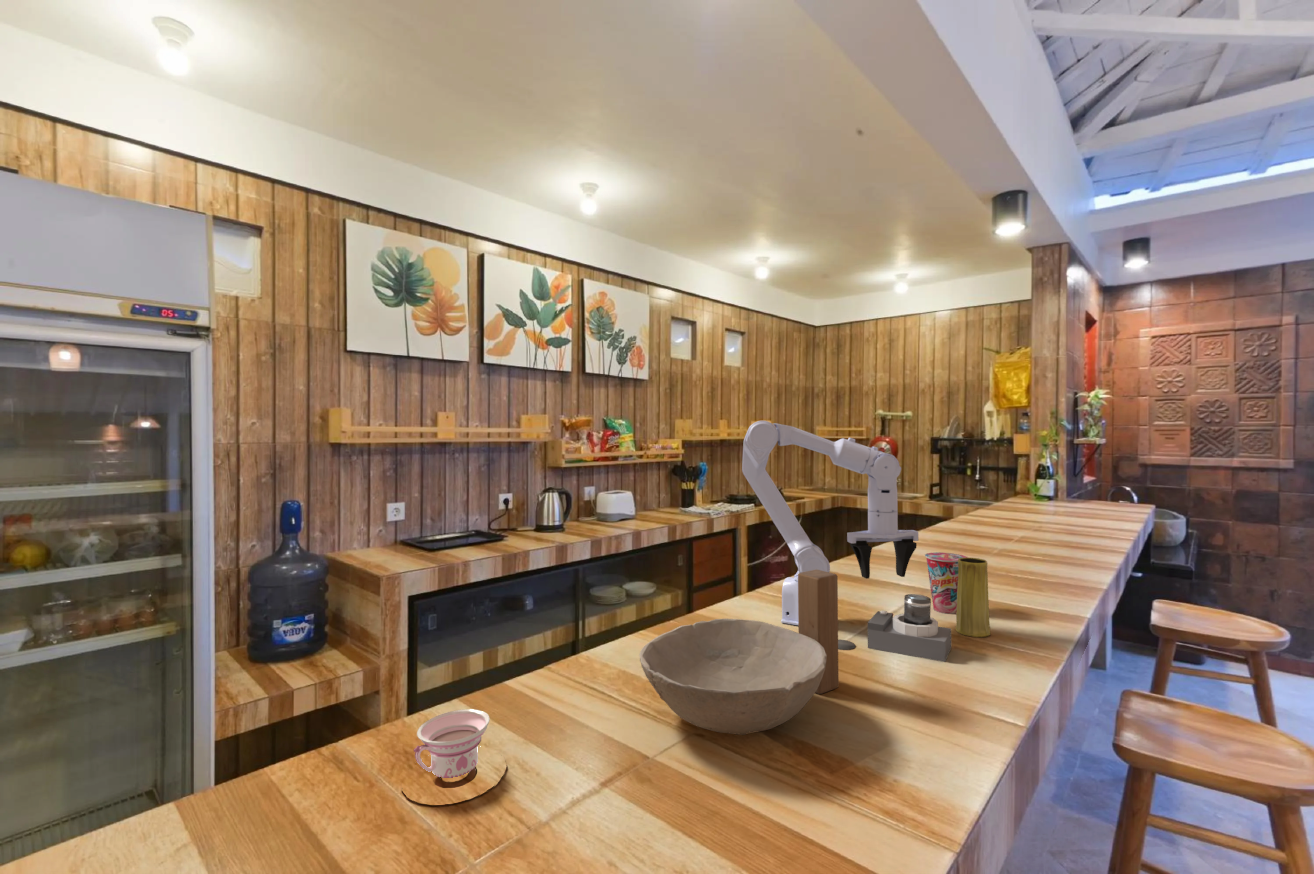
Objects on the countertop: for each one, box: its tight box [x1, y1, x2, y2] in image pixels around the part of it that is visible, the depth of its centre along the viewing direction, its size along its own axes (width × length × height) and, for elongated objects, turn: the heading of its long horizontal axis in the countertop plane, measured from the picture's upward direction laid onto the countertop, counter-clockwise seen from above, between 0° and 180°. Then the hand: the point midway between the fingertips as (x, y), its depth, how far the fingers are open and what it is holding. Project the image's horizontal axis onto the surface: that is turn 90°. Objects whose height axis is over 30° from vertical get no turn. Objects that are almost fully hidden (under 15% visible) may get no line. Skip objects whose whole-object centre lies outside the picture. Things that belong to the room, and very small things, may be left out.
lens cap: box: [838, 639, 856, 651], centre depth 113 cm, size 5×5×1 cm
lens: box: [903, 593, 932, 625], centre depth 110 cm, size 4×4×6 cm
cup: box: [924, 552, 970, 615], centre depth 133 cm, size 9×8×12 cm
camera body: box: [867, 610, 952, 663], centre depth 111 cm, size 13×8×5 cm, turn 57°
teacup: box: [413, 708, 491, 778], centre depth 72 cm, size 12×12×6 cm
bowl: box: [638, 618, 827, 736], centre depth 85 cm, size 26×26×10 cm
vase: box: [955, 557, 991, 638], centre depth 118 cm, size 6×6×14 cm
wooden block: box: [797, 569, 840, 695], centre depth 97 cm, size 9×4×18 cm, turn 33°
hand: (883, 576), depth 124 cm, fingers open, 7 cm apart
